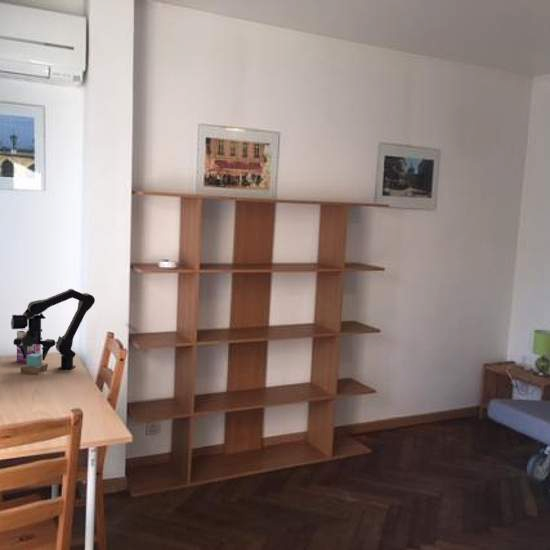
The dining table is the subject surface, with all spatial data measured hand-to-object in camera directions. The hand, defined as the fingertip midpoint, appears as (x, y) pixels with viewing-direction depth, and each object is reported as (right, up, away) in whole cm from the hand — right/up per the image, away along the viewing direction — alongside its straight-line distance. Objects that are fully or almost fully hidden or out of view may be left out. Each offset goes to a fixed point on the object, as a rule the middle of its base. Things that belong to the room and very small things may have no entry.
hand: (34, 359), depth 292 cm
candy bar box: (-10, -4, +17) cm, 20 cm away
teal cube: (0, -3, 0) cm, 3 cm away
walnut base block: (0, -6, +1) cm, 6 cm away
